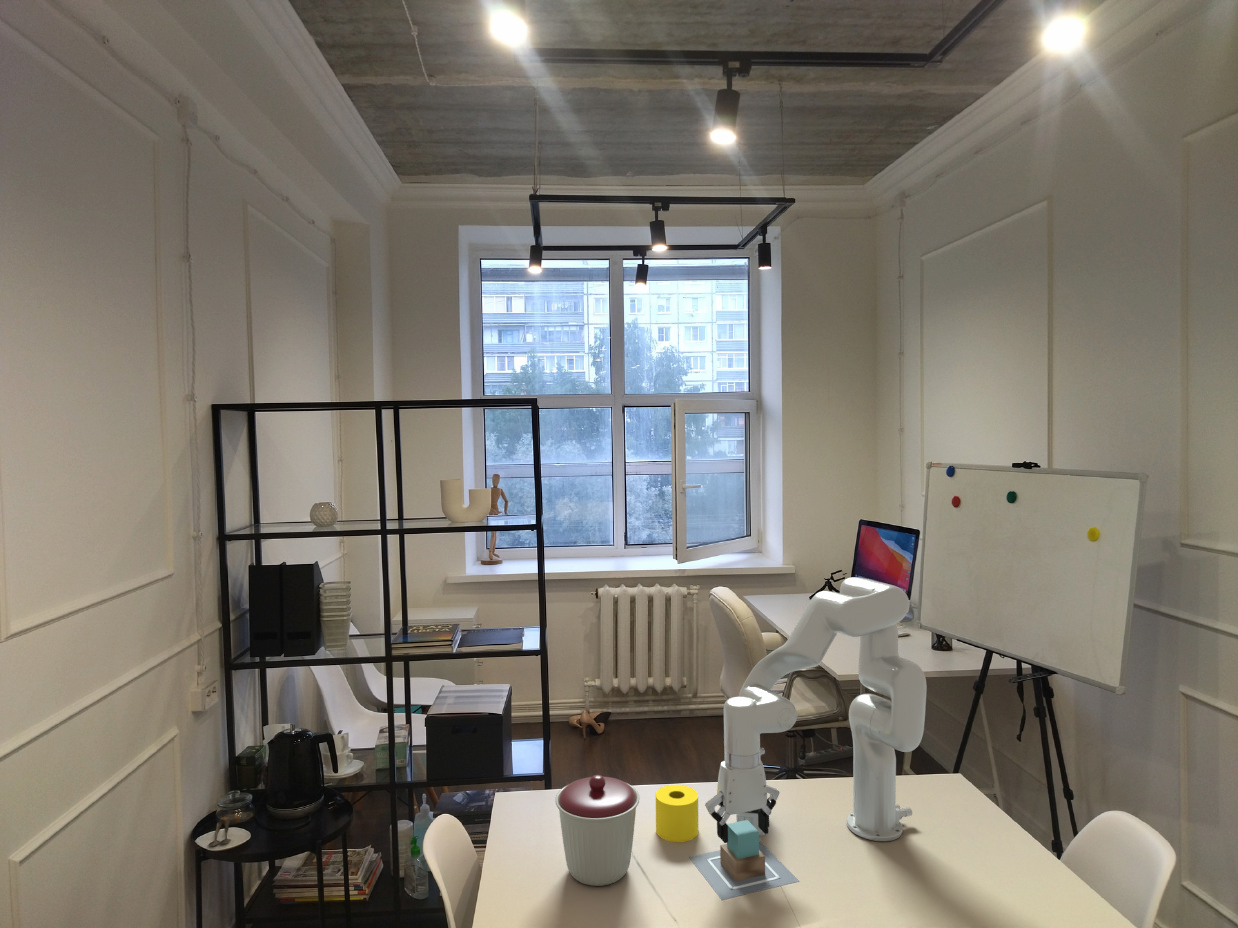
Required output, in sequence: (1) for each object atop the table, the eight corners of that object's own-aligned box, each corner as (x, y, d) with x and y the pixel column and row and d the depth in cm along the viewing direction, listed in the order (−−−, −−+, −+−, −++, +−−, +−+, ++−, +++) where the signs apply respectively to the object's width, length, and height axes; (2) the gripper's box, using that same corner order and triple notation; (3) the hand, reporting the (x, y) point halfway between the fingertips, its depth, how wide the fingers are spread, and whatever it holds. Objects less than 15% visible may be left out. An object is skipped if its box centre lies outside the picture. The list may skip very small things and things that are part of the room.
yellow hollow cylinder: (698, 823, 179) (698, 785, 178) (698, 846, 169) (698, 806, 168) (657, 821, 180) (656, 783, 179) (654, 844, 170) (654, 804, 169)
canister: (565, 904, 149) (564, 802, 148) (549, 855, 166) (548, 763, 165) (651, 888, 153) (650, 789, 152) (627, 842, 171) (626, 753, 170)
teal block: (747, 842, 162) (747, 819, 161) (758, 854, 157) (758, 831, 157) (727, 846, 160) (726, 823, 160) (737, 858, 155) (737, 835, 155)
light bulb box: (765, 839, 171) (764, 793, 171) (735, 836, 173) (735, 791, 172) (765, 815, 182) (765, 772, 181) (737, 813, 183) (737, 770, 183)
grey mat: (760, 844, 169) (760, 840, 169) (799, 884, 154) (799, 880, 154) (688, 860, 163) (688, 856, 163) (721, 903, 148) (721, 899, 148)
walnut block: (748, 856, 163) (748, 838, 163) (765, 874, 156) (765, 855, 156) (720, 862, 161) (720, 844, 161) (735, 881, 154) (735, 862, 154)
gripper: (768, 743, 164) (769, 818, 165) (697, 756, 158) (699, 834, 159) (786, 757, 157) (787, 835, 158) (713, 771, 151) (714, 852, 152)
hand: (743, 834), depth 158 cm, fingers open, 9 cm apart
